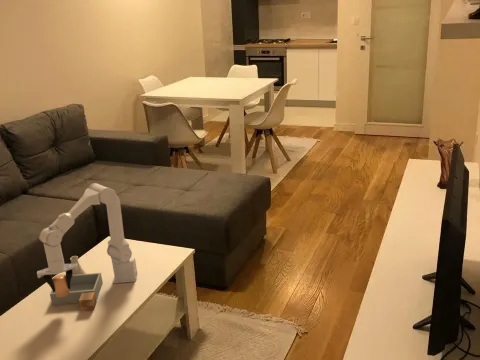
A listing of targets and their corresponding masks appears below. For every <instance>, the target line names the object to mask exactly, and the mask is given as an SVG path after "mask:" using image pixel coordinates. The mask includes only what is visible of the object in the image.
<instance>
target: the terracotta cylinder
mask: <svg viewBox="0 0 480 360" xmlns="http://www.w3.org/2000/svg"><path fill="white" fill-rule="evenodd" d="M52 279H53V284H54V288H55V293H56V296H57V297H64V296H67V295H68V294H69V289H68V283H67V278H66V274H62V273H60V274H56V275H55V276H52Z"/></svg>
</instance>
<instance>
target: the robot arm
mask: <svg viewBox="0 0 480 360" xmlns="http://www.w3.org/2000/svg"><path fill="white" fill-rule="evenodd" d="M101 203H102V204H105V205H106V212H107V221H108V222H107V223H108V228H109V237H110V239H109V240H108V241H107V249H106V253H107V255H108V256H109V257H110V259H111V264H112V269H113V270H112V271H113V280H112V284H120V283H121V284H123V283H132V282H136V280H137V279H136V278H137V275H138V268H137V262H136V258H135V257H132V255H133V251H132V249H131V248H130V244H129V242H128V241H127V240H126V238H125V233H124V232H125V231H124V225H123V215H122V207H121V206H122V205H121V199H120V197H119V196H118V194H117V193H116V190H114V189H113V188H111V187H106V186H104V185H102V184H100V183H98V182H97V183H96V182H95V183H91V184H90V185H89V186H88V187H87V188H86V189H85V191H84V193H83V195H82V196H81V197H80V198H79V199H78V200H77V202H76V203H75V204H74V205H73V206H72V208H70V210H69V211H68V212H63V213H61V214H59V215H58V217H57V218H56V219H55V220H54V221H53V222H52V224H49V226H48V227H45V228H43V229H42V230H41V232H40V234H39V236H38V239H39V241H40V242H42V243H43V247H44V253H45V255H46V256H45V257H46V260H47V261H46V262H47V266H48V267H46V268H43V269H41V270H37V272H36V275H37V278H38V279H40V278H42V277H43V280H44V282H45V283H47V284H48V285H49V287H50V288H51V291H52V290H53V292H55V288H54V284H53V275H60V274H62V273H65V275H66V278H67V282H68V289H70V282H71V278H72V274H73V272H72V270H78V266H77V263H75V264H72V263H65V259H64V255H63V251H62V245H61V242H62V241H63V237H64V235H65V234H66V233H67V232H68V230H70V228H71V227H72V226H73V225H74V224H75V220H76V218H78V217H79V215H81V214H82V213H83V212H84V211H86V210H87V208H89V207H90V206H97V205H101Z"/></svg>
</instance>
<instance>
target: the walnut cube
mask: <svg viewBox="0 0 480 360" xmlns="http://www.w3.org/2000/svg"><path fill="white" fill-rule="evenodd" d="M78 304H79V308H80V311H81V312H86V311H87V312H89V311H95V308H96V306H97V301H96V296H95V292H89V293H82V294H81V297H80V299H79V303H78Z"/></svg>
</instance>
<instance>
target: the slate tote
mask: <svg viewBox="0 0 480 360" xmlns="http://www.w3.org/2000/svg"><path fill="white" fill-rule="evenodd" d="M67 283H68V282H67ZM103 284H104V283H103V278H102V272H96V273H95V272H94V273H86V274H79V275H72V278H71V282H70V289H69V294H68V295H67V296H64V297H57V296H56V293H55V292H53V290H52V289H51V291H50V293H49V295H50V296H49V297H50V302H51V305H52V306H54V305H55V306H56V305H69V304H80V303H79V299H80V297H81V294H82V293H89V292H95V296H96V301H97V300H98V299H99V295H100V292H101V289H102V286H103Z"/></svg>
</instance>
